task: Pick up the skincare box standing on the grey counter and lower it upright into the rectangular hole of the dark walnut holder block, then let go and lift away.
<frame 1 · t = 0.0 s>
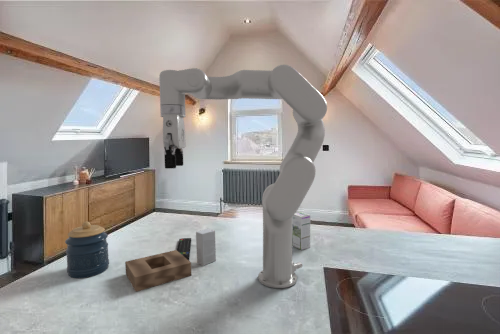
hand: (174, 166, 89), 37 cm above the countertop, tool pointing down, fingers open, 9 cm apart
canister: (89, 270, 100), on the countertop
skincare box: (206, 262, 106), on the countertop
remote control: (184, 251, 119), on the countertop
holder: (158, 274, 96), on the countertop
syrup box: (301, 247, 121), on the countertop
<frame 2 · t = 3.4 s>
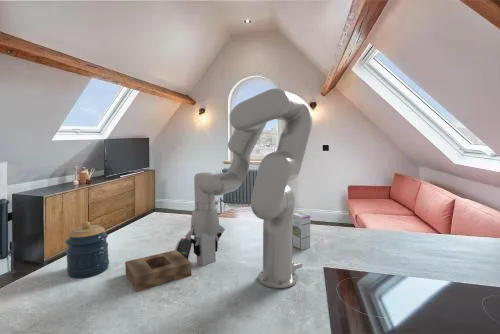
hand: (206, 252, 106), 4 cm above the countertop, tool pointing down, fingers closed on skincare box, 6 cm apart
skincare box: (206, 262, 106), on the countertop, touching gripper
everything else where it was.
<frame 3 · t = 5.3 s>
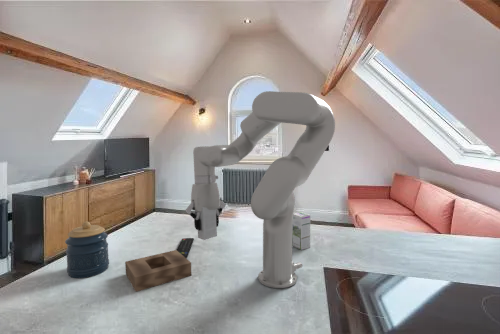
hand: (207, 227, 105), 13 cm above the countertop, tool pointing down, fingers closed on skincare box, 6 cm apart
skincare box: (207, 237, 105), point 10 cm above the countertop, touching gripper
everything else where it was.
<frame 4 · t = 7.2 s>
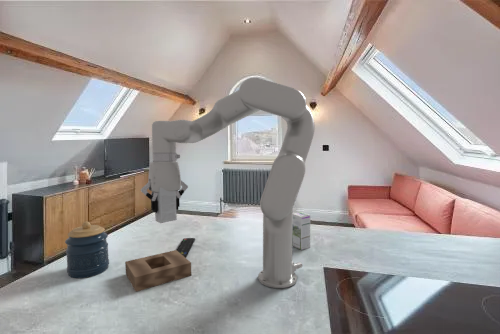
hand: (165, 210, 96), 22 cm above the countertop, tool pointing down, fingers closed on skincare box, 6 cm apart
skincare box: (165, 221, 97), point 18 cm above the countertop, touching gripper
everything else where it was.
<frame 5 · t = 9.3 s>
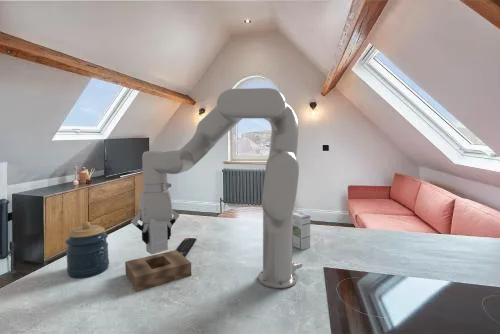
hand: (156, 240, 95), 12 cm above the countertop, tool pointing down, fingers closed on skincare box, 6 cm apart
skincare box: (157, 251, 96), point 8 cm above the countertop, touching gripper
when the fingers open (6 cm above the countertop, at t = 11.0 s): skincare box drops 2 cm, resting in holder.
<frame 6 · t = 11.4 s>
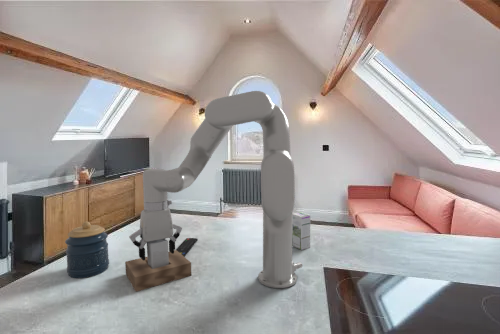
hand: (157, 255, 96), 7 cm above the countertop, tool pointing down, fingers open, 9 cm apart
skincare box: (158, 275, 96), resting in holder
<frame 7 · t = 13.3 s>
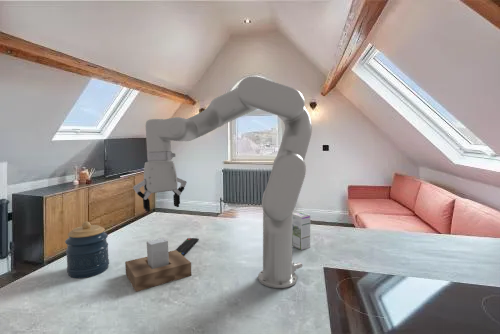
hand: (162, 208, 94), 23 cm above the countertop, tool pointing down, fingers open, 9 cm apart
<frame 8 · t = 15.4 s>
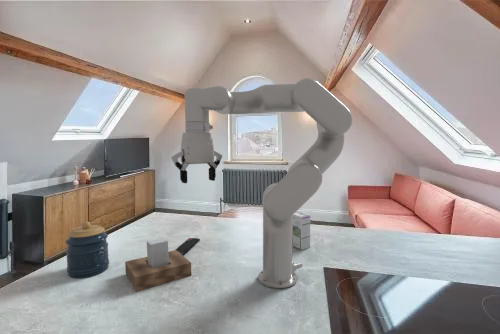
hand: (198, 181, 92), 32 cm above the countertop, tool pointing down, fingers open, 9 cm apart
at the end: skincare box 0.2 cm off-centre on the holder, point 0.0 cm above the holder's base; skincare box tilted 0°; the gripper is holding nothing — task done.
